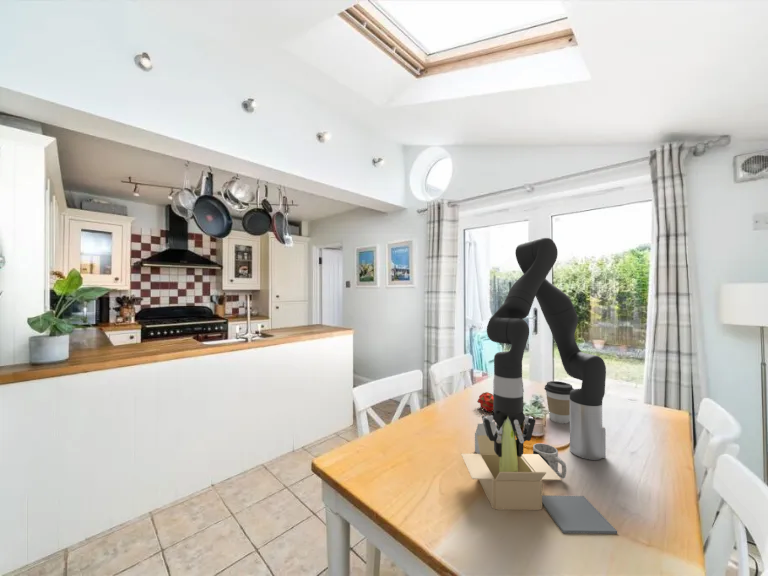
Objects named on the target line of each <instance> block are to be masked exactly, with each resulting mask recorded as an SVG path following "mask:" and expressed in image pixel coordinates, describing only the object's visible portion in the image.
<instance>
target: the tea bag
mask: <svg viewBox="0 0 768 576" xmlns="http://www.w3.org/2000/svg"><path fill="white" fill-rule="evenodd" d="M490 426H491V429H492V433H493V434H494V433H495V427H496V422H495V421H494V420H493V421H492V425H490ZM477 435H487V434H486V431H485V427H484V424H483V422H479V423H477V427H476V430H475V432H474V452H475V454H480V450H479V444H478V439H477Z"/></svg>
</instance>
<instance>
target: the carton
mask: <svg viewBox="0 0 768 576" xmlns="http://www.w3.org/2000/svg"><path fill="white" fill-rule="evenodd" d="M477 439H478V444H479V450H480V454H477V453H460V455H461V457H462V459H463V461H464V464H465V466H466V468H467V471H468V473H469V476H470V477H471V480H479V483H480V485H481V487H482V489H483V491H484V493H485V496H486V498H487V499H488V502H489V503H490V506H491V508H492V509H493V510H494V509H495V510H502V511H503V510H509V511H512V510H513V511H515V510H516V511H519V510H520V511H521V510H522V511H524V510H525V511H529V510H530V511H533V510H534V511H541V510H543V505H542V495H543V481H562V479H563V478H561V477H559V476H558V475H557V474H556V473H555V472H554V470H553V469H552V468H551V467H550V466H549V465H548V464H547V463H546V462H545V461H544V460H543V459H542V457H541V456H540V455H539V454H533V453H523V455H522V456H521V457H518V456H517V461H518V472H499V461H500V457H498V455H497V454H496V453H495V451H494V441H490V439H489V438H488V437H487V435H477Z"/></svg>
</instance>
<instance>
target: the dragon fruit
mask: <svg viewBox="0 0 768 576" xmlns="http://www.w3.org/2000/svg"><path fill="white" fill-rule="evenodd" d="M476 402H477V403H478V404H479V405H480V409H481V410H484V409H485V411H486V412H488V413H490V414H492V413H493V411H494V407H493V393H490V392H489V391H485V392H482V393H481V394H480V395H479V396H478V399H477V401H476Z"/></svg>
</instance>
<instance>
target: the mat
mask: <svg viewBox="0 0 768 576" xmlns="http://www.w3.org/2000/svg"><path fill="white" fill-rule="evenodd" d="M542 507H543V508H544V509H545V510H546V512H547V513H548V514H549V515H550V517H551V518H552V520H553V521H554V523H555V524H556V525H557V527H558V528H559V529H560V530H561V533H563V534H594V535H595V534H599V535H600V534H603V535H604V534H605V535H606V534H607V535H608V534H609V535H618V530H617V529H616V528H615V527H614V525H612V524H611V523H610V522H609V521H608V520H607V519H606V518H605V516H603V515H602V514H601V512H600V511H599V510H598V509H597V508H596V507H595V506H594V505H593V504H592V503H591V502H590V501H589V499H588V498H586V497H585V496H584V495H543V494H542Z"/></svg>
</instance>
